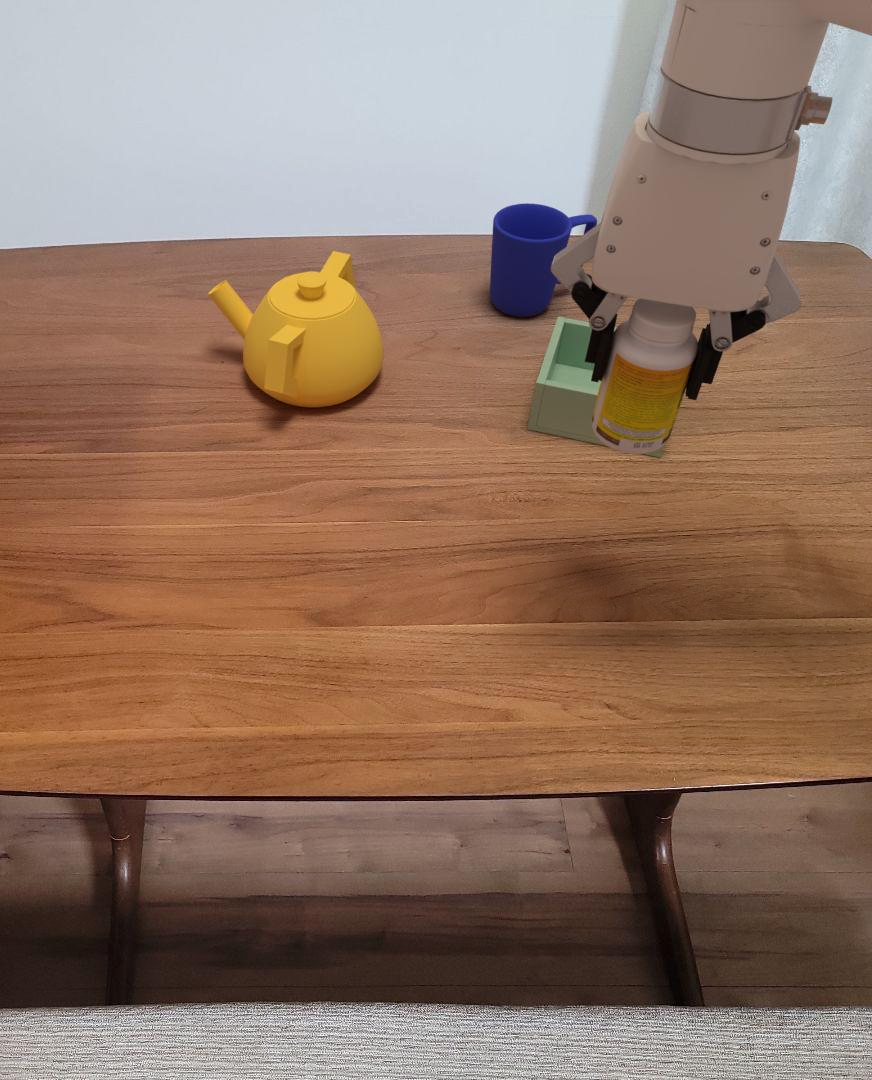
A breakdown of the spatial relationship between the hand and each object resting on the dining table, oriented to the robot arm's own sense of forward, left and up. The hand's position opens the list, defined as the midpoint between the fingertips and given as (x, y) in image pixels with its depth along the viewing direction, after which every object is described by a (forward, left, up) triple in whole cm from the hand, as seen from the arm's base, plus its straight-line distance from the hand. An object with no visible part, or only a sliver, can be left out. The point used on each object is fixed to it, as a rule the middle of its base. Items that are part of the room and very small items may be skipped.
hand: (645, 376), depth 63 cm
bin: (+2, -22, -19) cm, 29 cm away
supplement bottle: (0, 0, -5) cm, 5 cm away
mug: (+12, -39, -20) cm, 45 cm away
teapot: (+33, -18, -20) cm, 42 cm away
